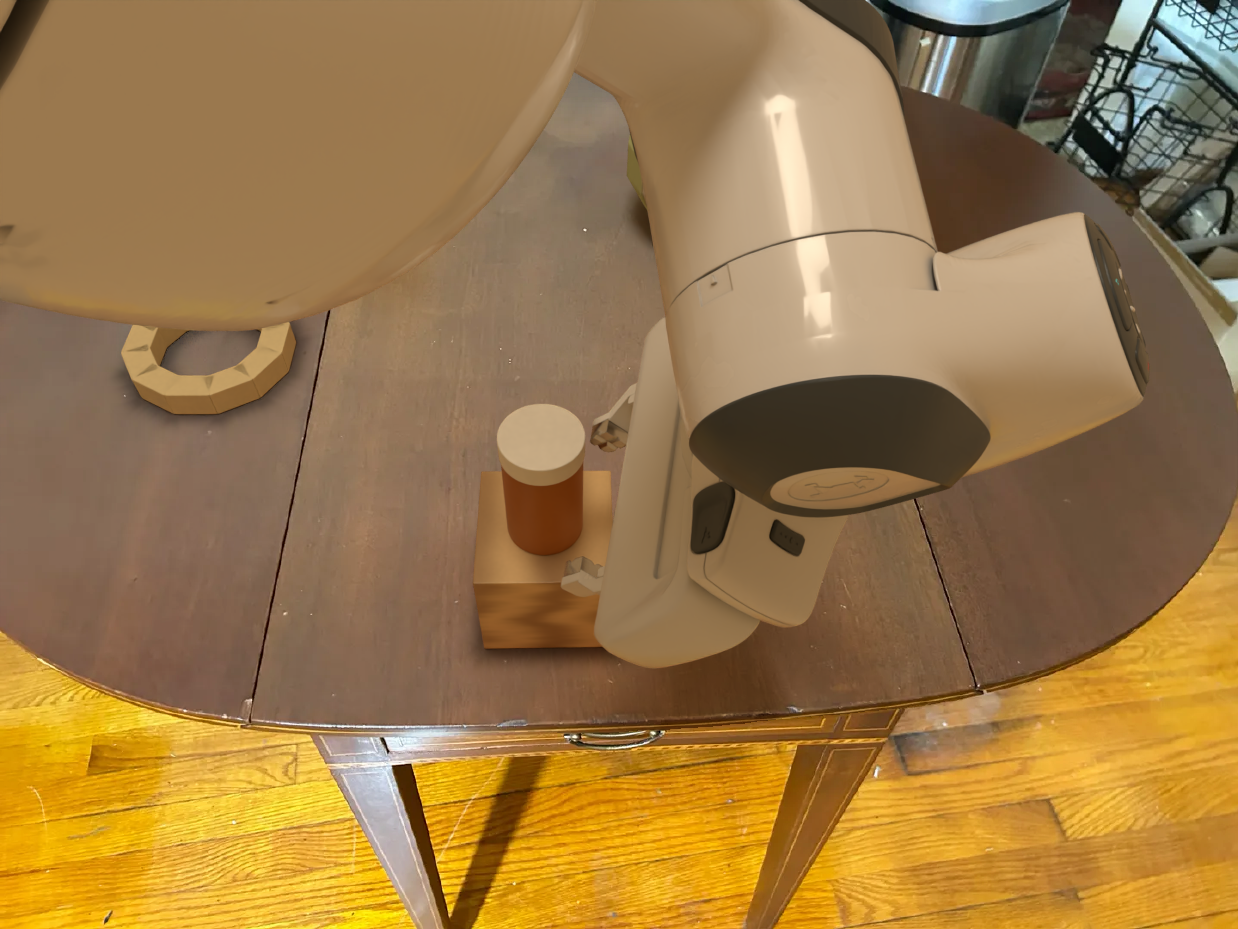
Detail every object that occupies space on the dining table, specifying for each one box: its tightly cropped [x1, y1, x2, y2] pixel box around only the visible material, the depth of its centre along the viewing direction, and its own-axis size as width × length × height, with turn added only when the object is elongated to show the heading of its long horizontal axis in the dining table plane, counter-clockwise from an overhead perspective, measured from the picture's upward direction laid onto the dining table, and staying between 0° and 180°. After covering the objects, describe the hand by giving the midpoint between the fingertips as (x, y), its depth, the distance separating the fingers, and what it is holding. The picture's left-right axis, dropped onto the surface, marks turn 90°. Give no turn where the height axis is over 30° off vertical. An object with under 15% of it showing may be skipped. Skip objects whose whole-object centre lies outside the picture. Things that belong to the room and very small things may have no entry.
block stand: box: [472, 470, 614, 649], centre depth 64 cm, size 9×9×9 cm
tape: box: [120, 322, 297, 415], centre depth 80 cm, size 14×14×2 cm
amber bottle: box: [496, 403, 586, 555], centre depth 57 cm, size 5×5×9 cm
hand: (585, 505), depth 53 cm, fingers open, 8 cm apart
